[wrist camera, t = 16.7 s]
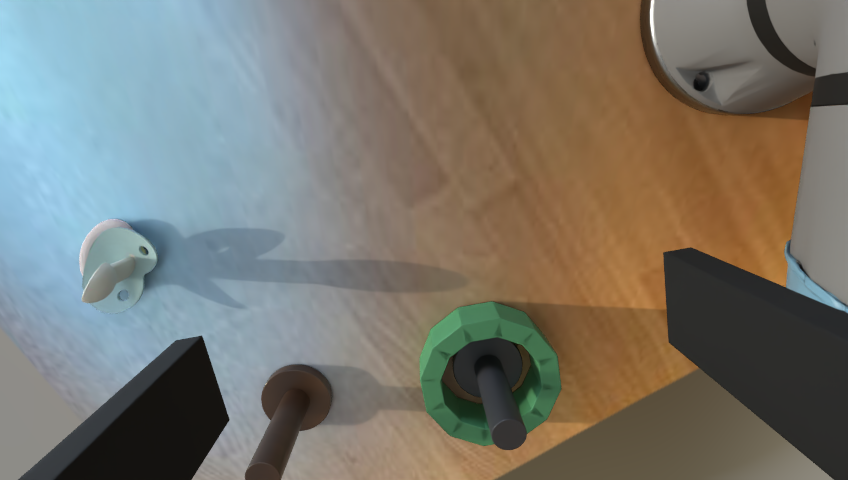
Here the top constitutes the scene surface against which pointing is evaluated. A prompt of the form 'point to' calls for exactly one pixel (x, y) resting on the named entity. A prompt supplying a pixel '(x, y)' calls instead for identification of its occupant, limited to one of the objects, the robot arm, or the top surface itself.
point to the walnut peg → (288, 416)
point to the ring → (479, 325)
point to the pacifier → (114, 265)
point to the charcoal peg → (493, 386)
